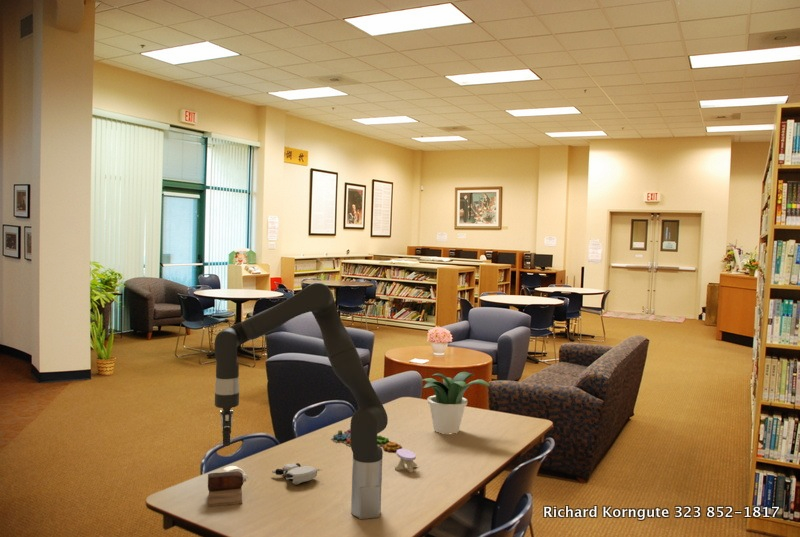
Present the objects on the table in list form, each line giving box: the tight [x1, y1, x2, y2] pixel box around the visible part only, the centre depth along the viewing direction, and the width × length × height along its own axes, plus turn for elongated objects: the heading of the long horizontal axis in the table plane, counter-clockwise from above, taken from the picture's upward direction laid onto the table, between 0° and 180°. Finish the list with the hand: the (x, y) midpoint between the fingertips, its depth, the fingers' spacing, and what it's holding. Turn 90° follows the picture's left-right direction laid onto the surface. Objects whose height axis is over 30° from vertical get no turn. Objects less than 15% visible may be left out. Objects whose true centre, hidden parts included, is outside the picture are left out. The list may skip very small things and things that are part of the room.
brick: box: [207, 471, 244, 492], centre depth 194 cm, size 11×4×5 cm, turn 111°
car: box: [219, 465, 248, 481], centre depth 209 cm, size 12×6×5 cm, turn 133°
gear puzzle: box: [330, 428, 403, 452], centre depth 253 cm, size 31×16×4 cm, turn 55°
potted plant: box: [421, 371, 491, 435], centre depth 273 cm, size 32×35×26 cm
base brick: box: [207, 487, 243, 507], centre depth 194 cm, size 9×10×4 cm
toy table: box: [394, 448, 418, 473], centre depth 227 cm, size 10×9×6 cm
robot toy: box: [271, 462, 323, 485], centre depth 213 cm, size 12×4×15 cm
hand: (226, 441), depth 193 cm, fingers open, 8 cm apart
